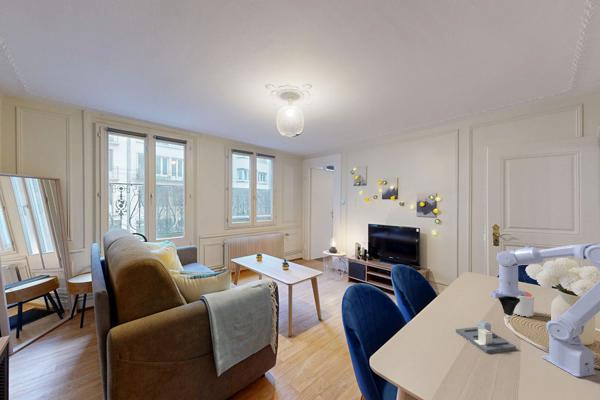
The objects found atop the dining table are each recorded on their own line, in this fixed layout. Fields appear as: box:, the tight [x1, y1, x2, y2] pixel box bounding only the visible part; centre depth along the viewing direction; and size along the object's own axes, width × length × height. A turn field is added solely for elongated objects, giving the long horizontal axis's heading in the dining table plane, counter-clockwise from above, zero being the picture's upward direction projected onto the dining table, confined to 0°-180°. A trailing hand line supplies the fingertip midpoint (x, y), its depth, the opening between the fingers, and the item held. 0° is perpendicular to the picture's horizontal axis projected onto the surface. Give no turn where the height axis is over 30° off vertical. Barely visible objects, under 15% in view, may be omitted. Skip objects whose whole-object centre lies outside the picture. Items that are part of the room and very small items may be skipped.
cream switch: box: [478, 329, 492, 344], centre depth 88 cm, size 3×3×4 cm
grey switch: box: [477, 319, 492, 332], centre depth 94 cm, size 3×3×4 cm
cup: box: [513, 291, 535, 318], centre depth 113 cm, size 10×10×10 cm
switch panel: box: [455, 326, 517, 354], centre depth 91 cm, size 14×13×2 cm
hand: (508, 314), depth 92 cm, fingers closed
